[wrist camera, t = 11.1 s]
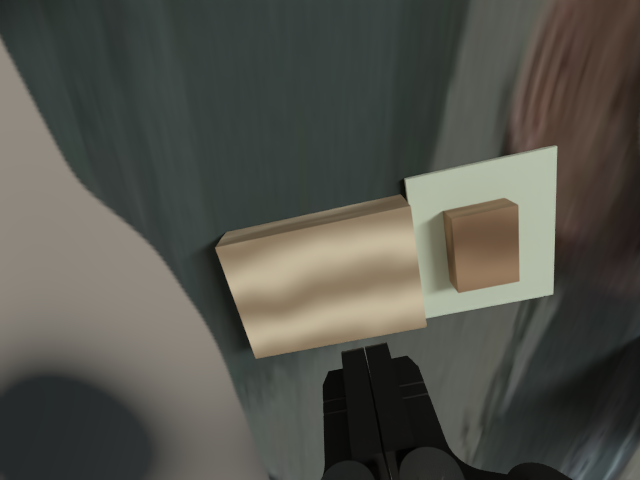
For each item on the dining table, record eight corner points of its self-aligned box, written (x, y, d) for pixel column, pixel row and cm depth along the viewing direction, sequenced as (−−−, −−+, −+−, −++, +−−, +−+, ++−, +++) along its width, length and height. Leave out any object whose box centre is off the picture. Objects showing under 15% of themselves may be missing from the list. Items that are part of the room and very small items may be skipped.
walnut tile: (518, 204, 32) (504, 197, 34) (451, 218, 32) (442, 210, 34) (519, 281, 34) (506, 269, 37) (458, 293, 35) (449, 281, 37)
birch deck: (225, 232, 36) (215, 247, 32) (400, 194, 34) (410, 205, 31) (261, 334, 40) (255, 358, 37) (416, 305, 39) (426, 326, 35)
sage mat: (403, 178, 34) (405, 179, 33) (553, 145, 33) (557, 146, 32) (422, 315, 40) (424, 318, 39) (549, 291, 38) (553, 294, 38)
